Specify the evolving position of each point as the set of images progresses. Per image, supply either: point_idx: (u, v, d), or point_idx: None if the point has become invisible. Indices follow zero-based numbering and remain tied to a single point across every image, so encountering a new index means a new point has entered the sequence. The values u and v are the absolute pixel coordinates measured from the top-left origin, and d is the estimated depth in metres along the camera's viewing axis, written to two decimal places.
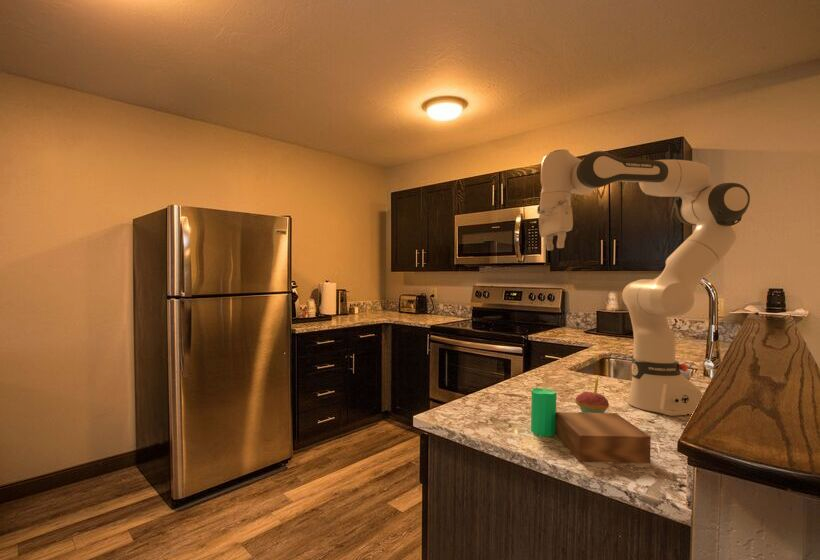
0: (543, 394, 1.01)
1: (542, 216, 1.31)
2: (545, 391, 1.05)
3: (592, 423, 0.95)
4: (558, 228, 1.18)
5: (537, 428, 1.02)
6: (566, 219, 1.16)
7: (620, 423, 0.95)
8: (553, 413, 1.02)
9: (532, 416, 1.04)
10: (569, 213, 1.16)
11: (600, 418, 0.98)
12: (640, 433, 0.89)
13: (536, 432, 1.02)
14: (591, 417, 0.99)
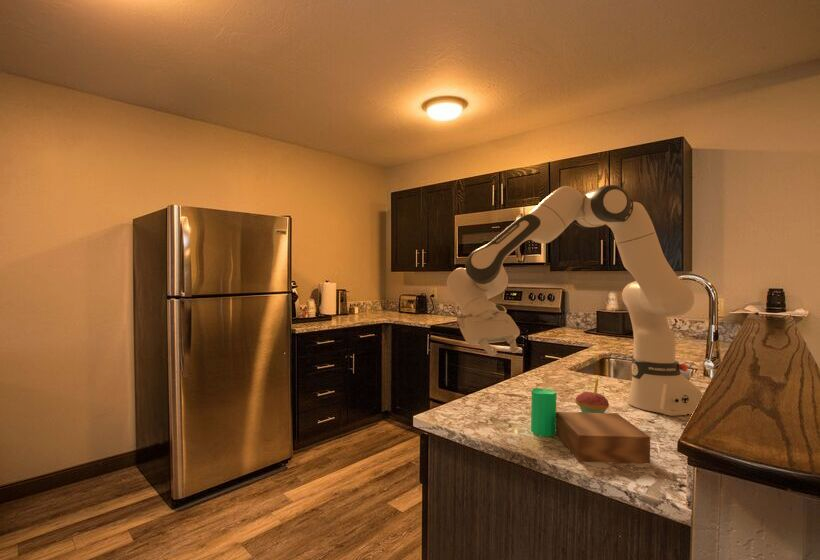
0: (543, 394, 1.01)
1: None
2: (545, 391, 1.05)
3: (592, 423, 0.95)
4: None
5: (537, 428, 1.02)
6: (466, 333, 1.12)
7: (620, 423, 0.95)
8: (553, 413, 1.02)
9: (532, 416, 1.04)
10: (465, 326, 1.12)
11: (600, 418, 0.98)
12: (640, 433, 0.89)
13: (536, 432, 1.02)
14: (591, 416, 0.99)
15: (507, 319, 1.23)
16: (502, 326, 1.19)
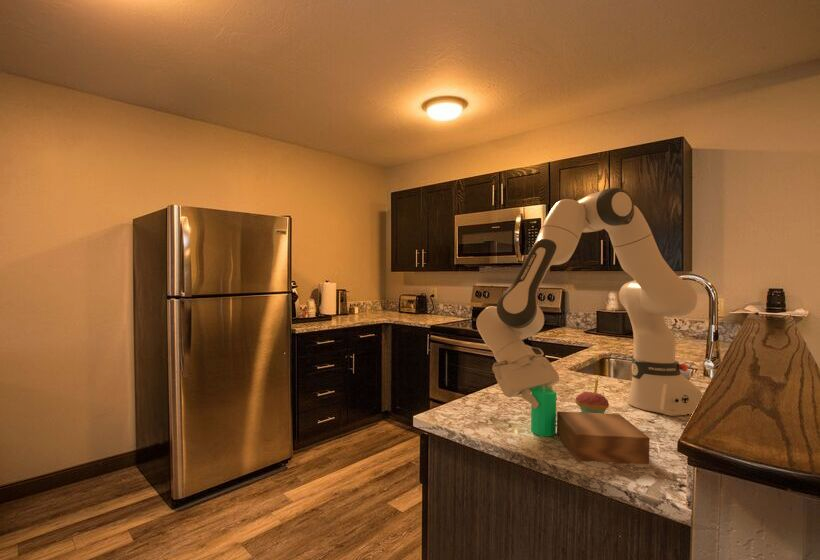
0: (543, 394, 1.01)
1: None
2: (545, 391, 1.05)
3: (592, 423, 0.95)
4: None
5: (537, 428, 1.02)
6: (503, 384, 1.02)
7: (621, 423, 0.95)
8: (553, 413, 1.02)
9: (532, 416, 1.04)
10: (502, 376, 1.02)
11: (601, 418, 0.98)
12: (639, 434, 0.89)
13: (536, 432, 1.02)
14: (592, 417, 0.99)
15: (544, 363, 1.12)
16: (540, 372, 1.09)
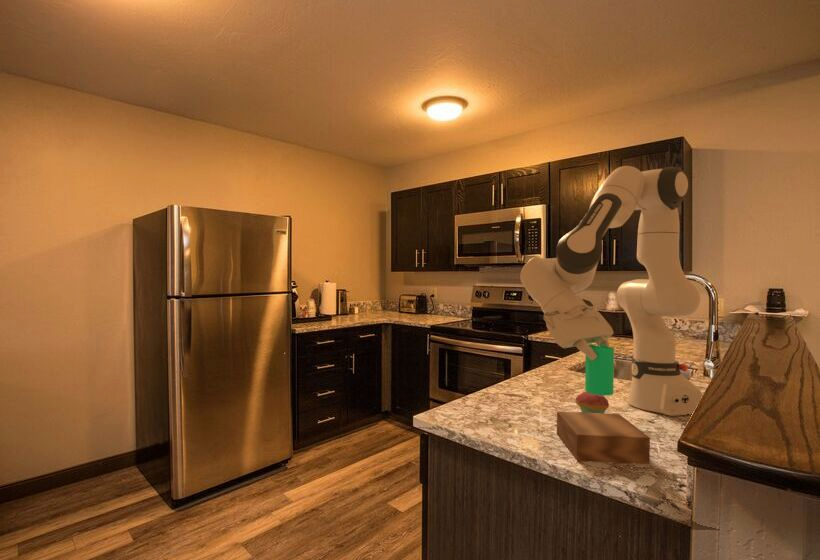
0: (600, 349, 0.92)
1: None
2: (601, 347, 0.96)
3: (592, 423, 0.95)
4: None
5: (592, 387, 0.93)
6: (557, 334, 0.93)
7: (621, 423, 0.95)
8: (611, 370, 0.92)
9: (587, 374, 0.95)
10: (556, 325, 0.93)
11: (601, 418, 0.98)
12: (640, 434, 0.89)
13: (592, 391, 0.93)
14: (592, 417, 0.99)
15: (597, 316, 1.03)
16: (594, 324, 1.00)
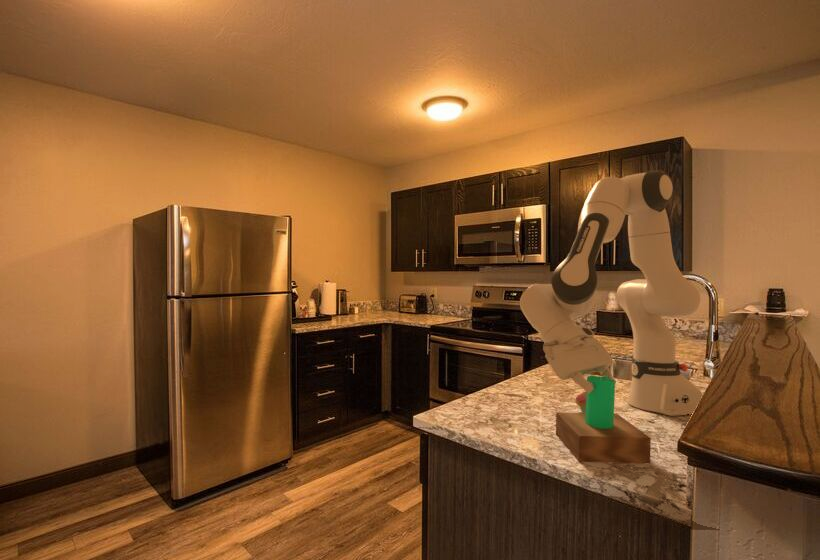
0: (601, 382, 0.92)
1: None
2: (602, 379, 0.96)
3: None
4: None
5: (593, 419, 0.93)
6: (556, 365, 0.93)
7: (620, 423, 0.95)
8: (612, 403, 0.92)
9: (587, 406, 0.95)
10: (555, 357, 0.93)
11: None
12: (640, 434, 0.89)
13: (592, 423, 0.93)
14: None
15: (596, 344, 1.03)
16: (593, 354, 1.00)
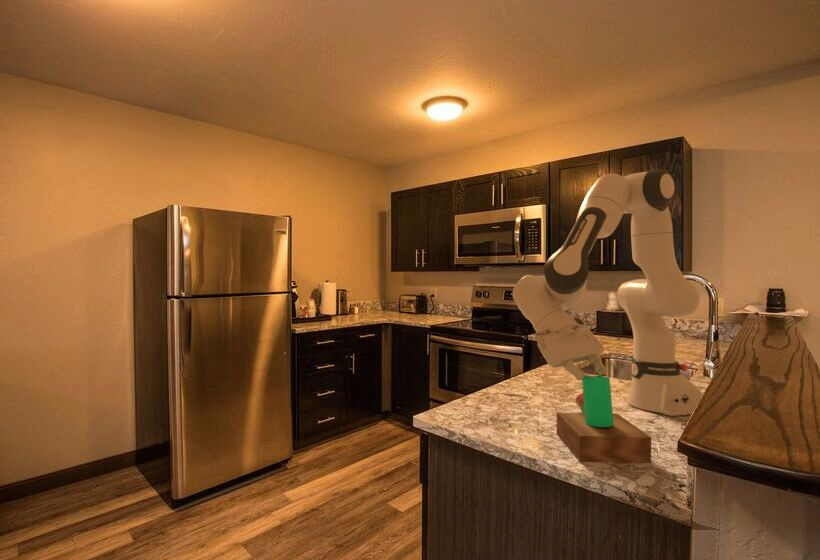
0: (596, 380, 0.93)
1: None
2: (596, 378, 0.96)
3: None
4: None
5: (593, 419, 0.93)
6: (548, 353, 0.94)
7: (621, 423, 0.95)
8: (609, 400, 0.92)
9: (586, 406, 0.95)
10: (546, 345, 0.95)
11: None
12: (641, 434, 0.89)
13: (592, 423, 0.93)
14: None
15: (587, 334, 1.05)
16: (584, 343, 1.02)
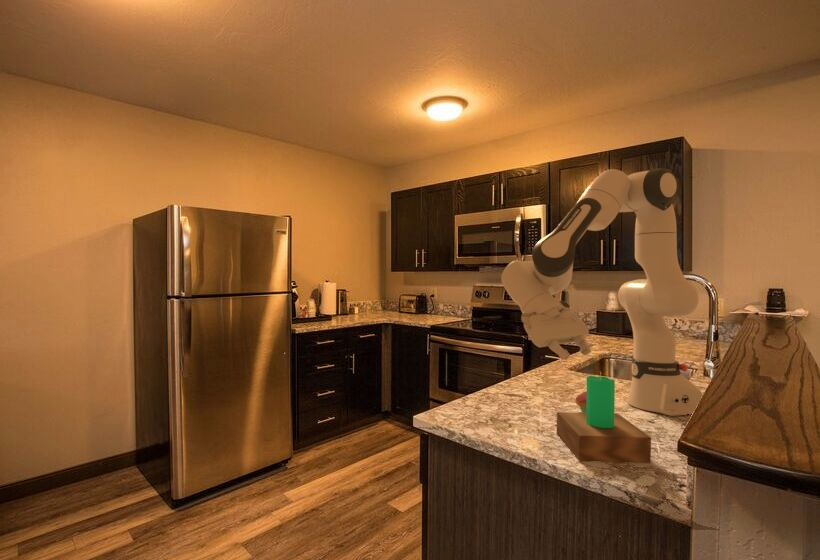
0: (601, 381, 0.92)
1: None
2: (601, 379, 0.96)
3: None
4: None
5: (594, 419, 0.93)
6: (533, 334, 0.97)
7: (621, 423, 0.95)
8: (612, 402, 0.93)
9: (588, 406, 0.95)
10: (532, 325, 0.98)
11: None
12: (640, 434, 0.89)
13: (593, 423, 0.93)
14: None
15: (573, 317, 1.08)
16: (570, 325, 1.05)
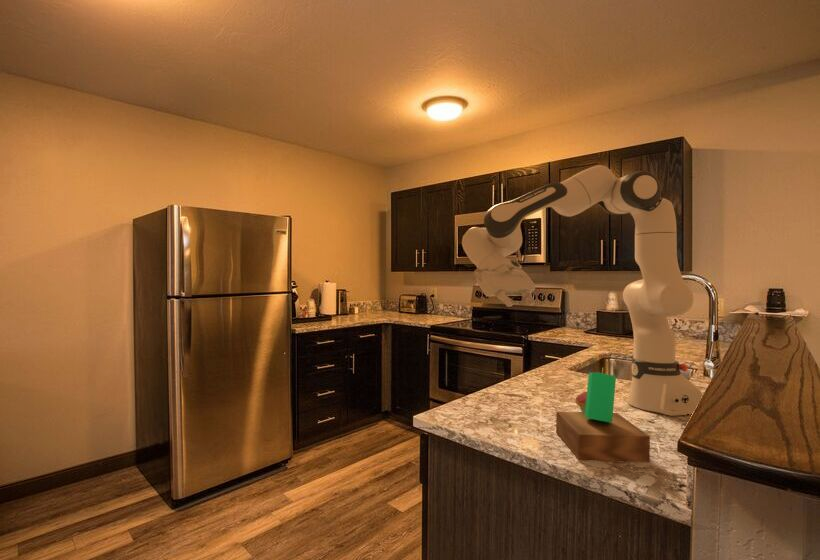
0: (596, 373, 0.96)
1: None
2: None
3: (592, 423, 0.95)
4: None
5: (588, 410, 0.95)
6: (483, 285, 1.14)
7: (620, 422, 0.96)
8: (607, 396, 0.94)
9: (586, 399, 0.98)
10: (482, 278, 1.15)
11: None
12: (639, 433, 0.90)
13: (587, 414, 0.95)
14: None
15: (522, 274, 1.25)
16: (518, 280, 1.22)
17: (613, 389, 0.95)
